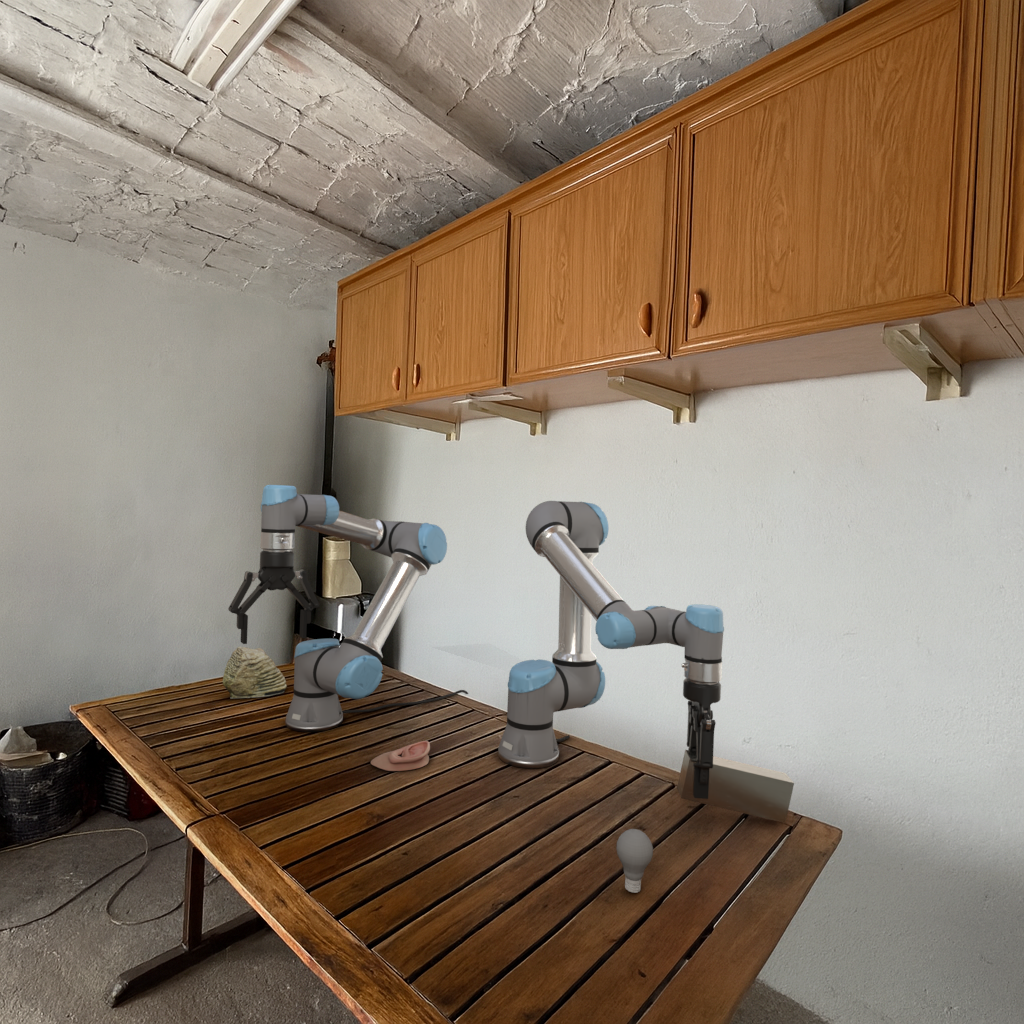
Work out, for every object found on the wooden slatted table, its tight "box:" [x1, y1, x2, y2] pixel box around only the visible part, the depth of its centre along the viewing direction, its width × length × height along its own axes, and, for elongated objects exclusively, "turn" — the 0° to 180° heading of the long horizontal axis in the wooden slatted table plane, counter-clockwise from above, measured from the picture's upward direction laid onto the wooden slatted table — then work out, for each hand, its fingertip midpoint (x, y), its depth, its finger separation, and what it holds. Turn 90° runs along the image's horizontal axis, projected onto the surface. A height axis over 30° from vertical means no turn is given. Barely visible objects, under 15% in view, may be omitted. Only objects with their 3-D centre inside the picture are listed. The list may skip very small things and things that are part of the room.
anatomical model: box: [370, 740, 431, 772], centre depth 153 cm, size 13×4×12 cm
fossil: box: [222, 646, 288, 699], centre depth 198 cm, size 9×18×15 cm, turn 132°
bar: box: [676, 749, 795, 824], centre depth 131 cm, size 21×5×8 cm, turn 86°
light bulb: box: [615, 828, 654, 894], centre depth 106 cm, size 6×6×10 cm
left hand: (274, 640), depth 150 cm, fingers open, 13 cm apart
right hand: (697, 791), depth 132 cm, fingers closed on bar, 5 cm apart
